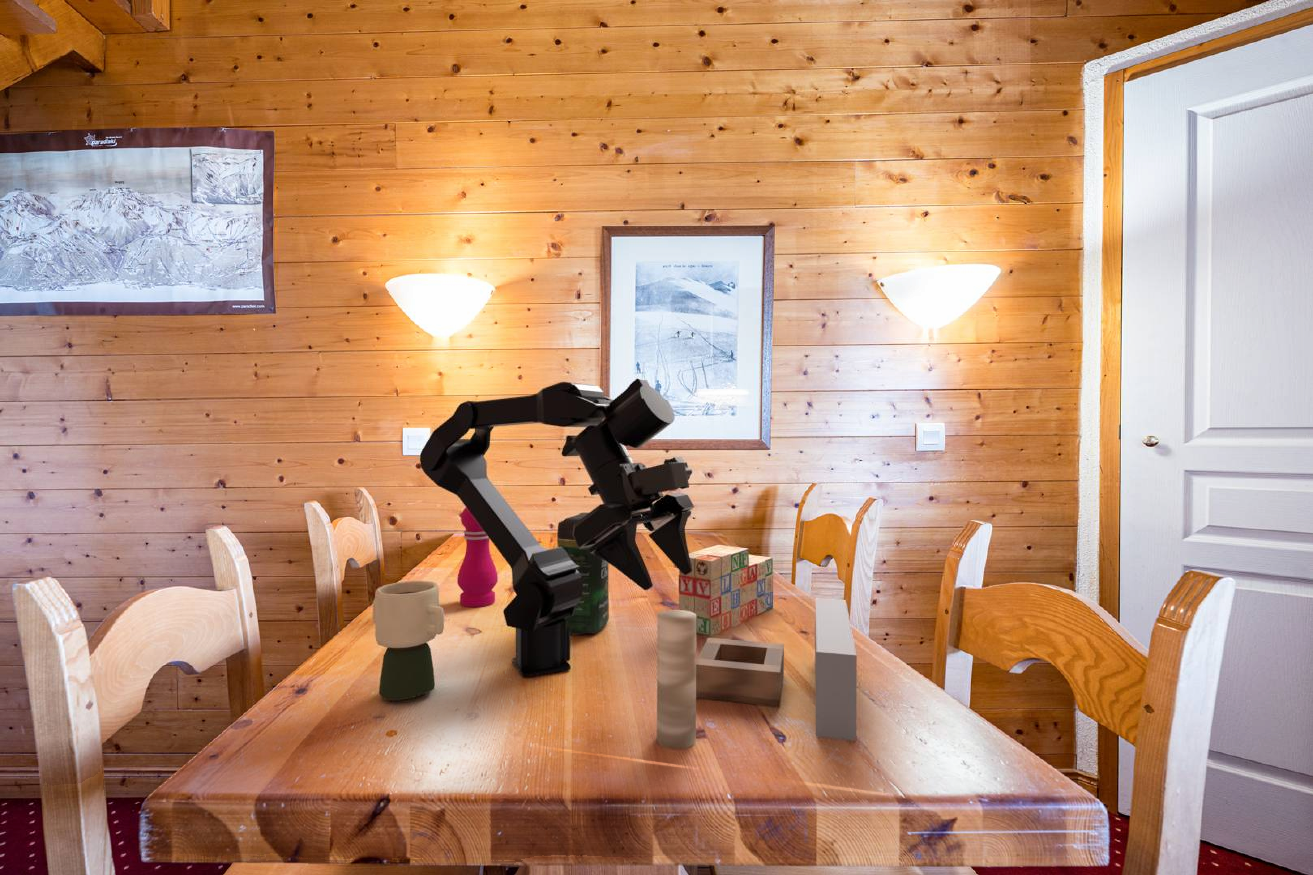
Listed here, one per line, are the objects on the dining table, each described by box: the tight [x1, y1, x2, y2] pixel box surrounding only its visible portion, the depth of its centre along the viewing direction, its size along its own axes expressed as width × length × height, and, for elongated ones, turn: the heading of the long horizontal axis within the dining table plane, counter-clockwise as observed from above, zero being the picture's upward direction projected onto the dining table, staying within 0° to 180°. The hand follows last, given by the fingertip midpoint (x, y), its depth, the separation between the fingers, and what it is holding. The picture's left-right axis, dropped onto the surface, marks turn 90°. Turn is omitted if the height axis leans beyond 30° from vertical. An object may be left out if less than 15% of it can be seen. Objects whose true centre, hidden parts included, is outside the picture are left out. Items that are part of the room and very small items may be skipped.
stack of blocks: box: [678, 544, 774, 637], centre depth 107 cm, size 21×6×12 cm, turn 143°
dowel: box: [656, 609, 697, 750], centre depth 64 cm, size 4×4×13 cm
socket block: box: [696, 637, 785, 708], centre depth 78 cm, size 10×10×4 cm
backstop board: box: [814, 597, 858, 742], centre depth 75 cm, size 4×22×9 cm, turn 166°
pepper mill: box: [456, 507, 499, 608], centre depth 116 cm, size 7×7×20 cm
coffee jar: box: [556, 512, 610, 636], centre depth 102 cm, size 10×8×19 cm
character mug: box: [372, 580, 445, 701], centre depth 75 cm, size 11×7×13 cm, turn 66°
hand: (670, 580), depth 74 cm, fingers open, 9 cm apart
